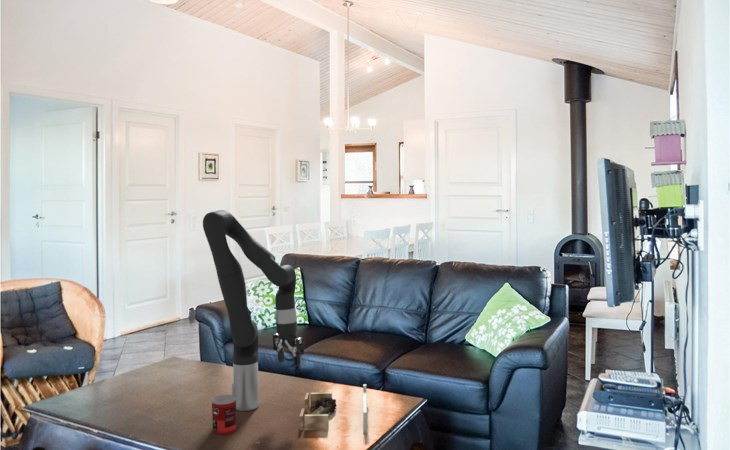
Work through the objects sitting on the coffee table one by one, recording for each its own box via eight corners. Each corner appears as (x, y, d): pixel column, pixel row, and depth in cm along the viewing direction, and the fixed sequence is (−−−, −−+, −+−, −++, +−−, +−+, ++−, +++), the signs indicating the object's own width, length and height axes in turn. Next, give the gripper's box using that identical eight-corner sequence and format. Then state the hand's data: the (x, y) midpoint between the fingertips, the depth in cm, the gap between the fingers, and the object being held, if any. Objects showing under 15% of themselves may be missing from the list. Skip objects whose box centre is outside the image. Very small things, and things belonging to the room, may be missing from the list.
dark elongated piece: (318, 429, 188) (318, 412, 187) (301, 426, 190) (300, 410, 190) (339, 409, 204) (338, 395, 204) (322, 407, 206) (322, 393, 206)
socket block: (299, 430, 186) (299, 416, 185) (306, 405, 208) (306, 392, 208) (328, 430, 186) (328, 415, 186) (332, 405, 208) (331, 392, 208)
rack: (363, 433, 183) (363, 412, 183) (363, 402, 211) (363, 384, 211) (367, 433, 183) (366, 412, 183) (366, 402, 211) (366, 384, 211)
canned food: (214, 426, 190) (214, 395, 190) (238, 425, 191) (237, 394, 190) (210, 435, 183) (209, 403, 182) (234, 434, 183) (234, 402, 183)
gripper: (265, 320, 201) (268, 363, 202) (291, 324, 192) (294, 370, 193) (281, 316, 207) (284, 358, 208) (307, 320, 198) (310, 364, 199)
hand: (289, 363), depth 201 cm, fingers open, 8 cm apart
